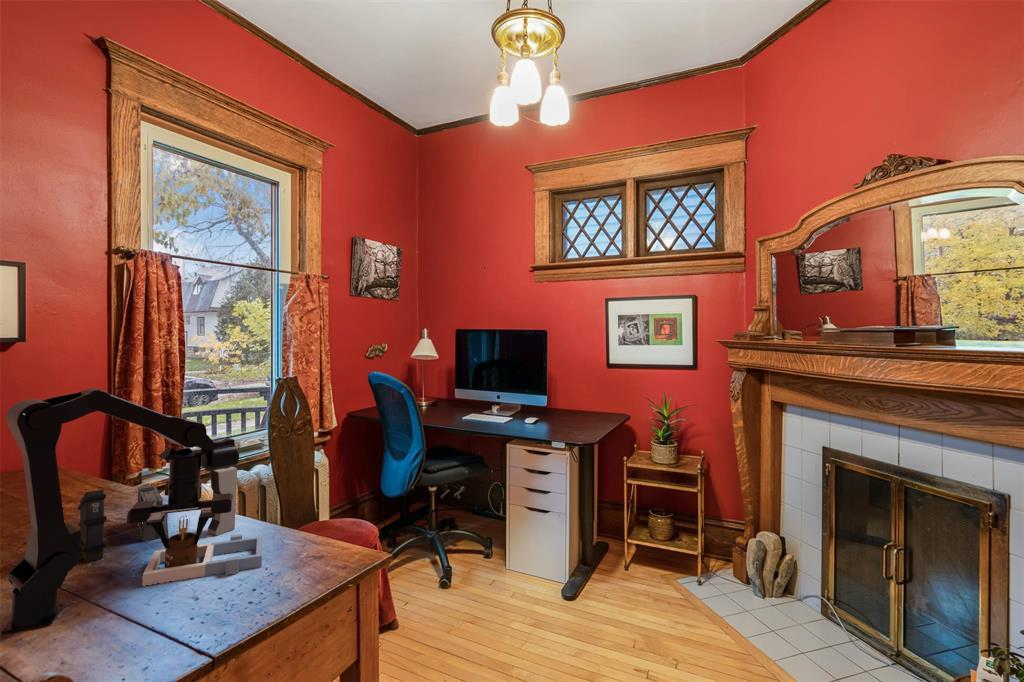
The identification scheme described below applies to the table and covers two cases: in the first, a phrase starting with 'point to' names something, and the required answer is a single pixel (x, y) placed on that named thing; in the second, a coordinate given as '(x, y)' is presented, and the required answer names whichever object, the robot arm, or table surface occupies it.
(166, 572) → the beige grey rectangular frame
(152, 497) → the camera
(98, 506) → the dark ridged block
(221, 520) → the vintage mobile phone
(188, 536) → the utensil holder
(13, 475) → the table surface
